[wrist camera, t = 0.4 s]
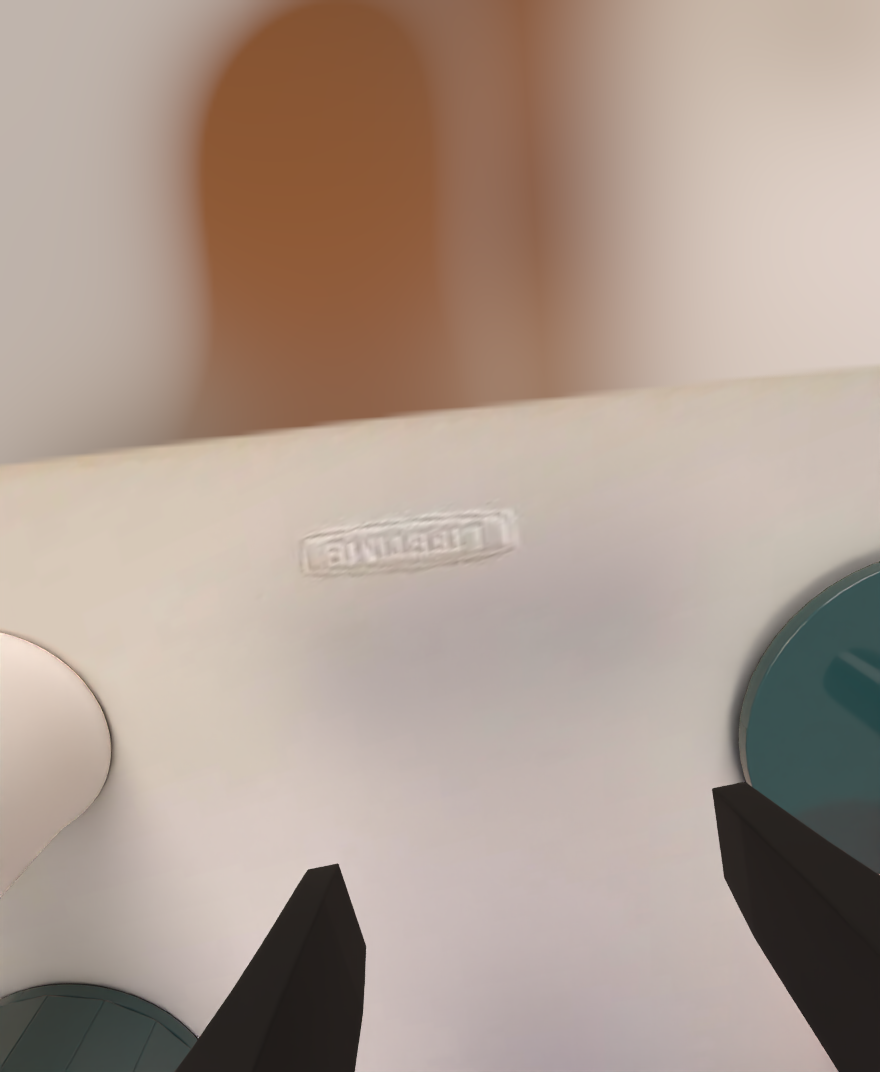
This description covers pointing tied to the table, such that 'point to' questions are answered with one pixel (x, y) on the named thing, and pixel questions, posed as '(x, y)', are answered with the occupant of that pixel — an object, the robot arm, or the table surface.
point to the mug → (44, 752)
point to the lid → (822, 717)
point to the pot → (88, 1032)
